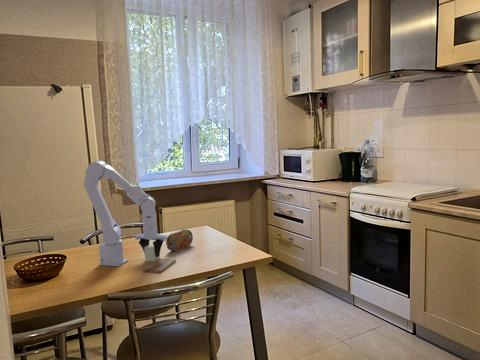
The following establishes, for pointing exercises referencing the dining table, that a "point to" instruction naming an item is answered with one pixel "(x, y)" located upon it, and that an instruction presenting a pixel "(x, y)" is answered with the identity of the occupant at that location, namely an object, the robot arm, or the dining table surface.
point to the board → (159, 265)
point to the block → (150, 253)
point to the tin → (179, 240)
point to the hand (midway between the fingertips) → (152, 255)
